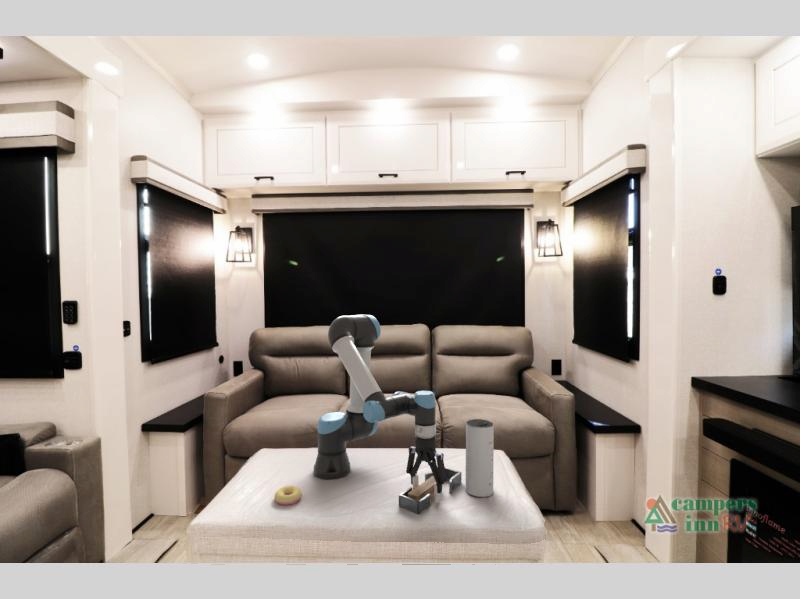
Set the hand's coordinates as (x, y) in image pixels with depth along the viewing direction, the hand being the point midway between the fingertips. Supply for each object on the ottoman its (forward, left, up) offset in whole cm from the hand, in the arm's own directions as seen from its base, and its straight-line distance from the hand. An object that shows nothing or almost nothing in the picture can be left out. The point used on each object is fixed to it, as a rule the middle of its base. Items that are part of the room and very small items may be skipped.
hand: (426, 497), depth 147 cm
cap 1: (-1, -6, -1) cm, 6 cm away
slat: (0, 0, -1) cm, 1 cm away
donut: (-40, -30, -1) cm, 50 cm away
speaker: (+13, +17, -1) cm, 21 cm away
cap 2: (-1, +14, 0) cm, 14 cm away
